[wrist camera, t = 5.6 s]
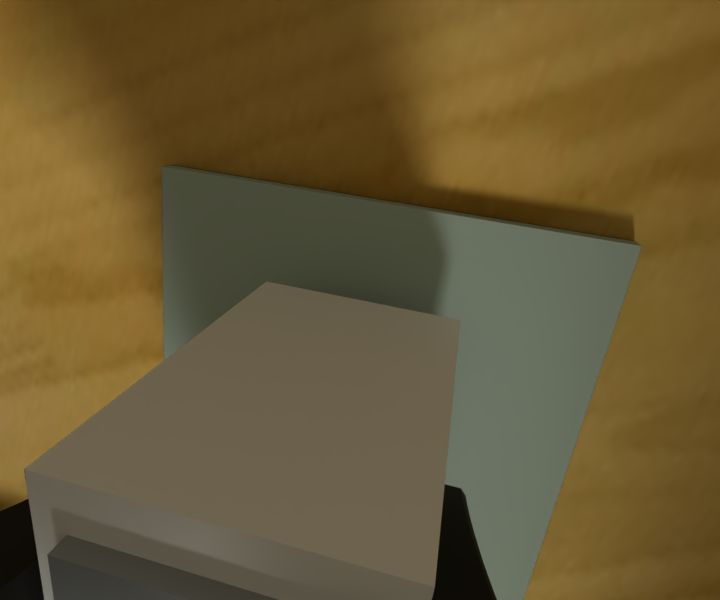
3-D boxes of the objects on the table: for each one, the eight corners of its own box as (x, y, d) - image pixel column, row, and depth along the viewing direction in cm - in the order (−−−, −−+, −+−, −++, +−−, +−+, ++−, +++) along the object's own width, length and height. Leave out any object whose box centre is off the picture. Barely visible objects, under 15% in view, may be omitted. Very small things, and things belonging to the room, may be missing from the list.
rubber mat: (635, 241, 10) (641, 245, 9) (515, 606, 13) (516, 620, 13) (172, 165, 11) (161, 166, 11) (173, 508, 15) (165, 518, 15)
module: (460, 320, 10) (432, 614, 4) (404, 579, 12) (338, 984, 7) (266, 281, 10) (1, 486, 5) (252, 535, 13) (70, 869, 7)
